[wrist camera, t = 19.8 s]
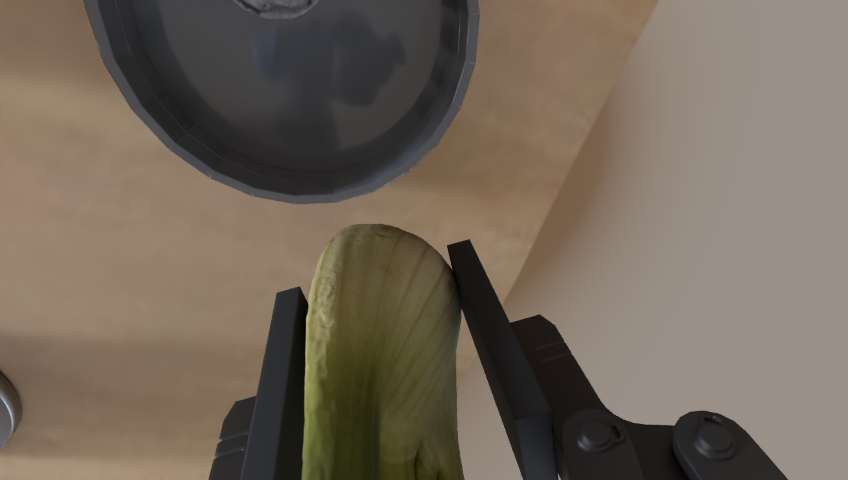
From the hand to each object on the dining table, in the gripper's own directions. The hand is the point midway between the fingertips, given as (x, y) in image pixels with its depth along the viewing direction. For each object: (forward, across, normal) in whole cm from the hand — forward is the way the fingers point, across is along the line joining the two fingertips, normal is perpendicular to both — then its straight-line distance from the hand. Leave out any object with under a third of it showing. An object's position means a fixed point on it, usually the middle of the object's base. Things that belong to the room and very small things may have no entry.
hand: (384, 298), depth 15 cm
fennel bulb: (+2, 0, 0) cm, 2 cm away
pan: (+18, -2, +7) cm, 20 cm away
